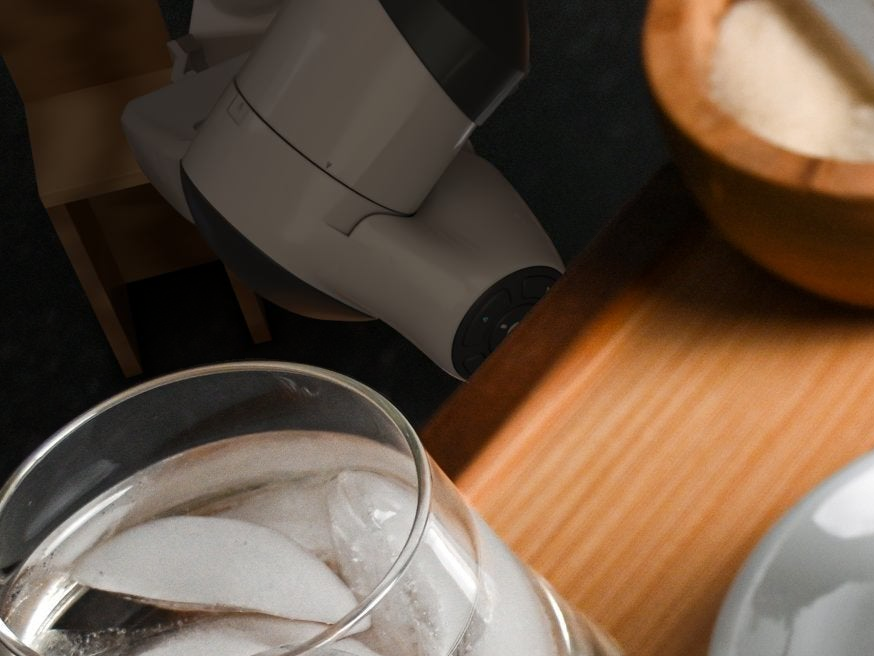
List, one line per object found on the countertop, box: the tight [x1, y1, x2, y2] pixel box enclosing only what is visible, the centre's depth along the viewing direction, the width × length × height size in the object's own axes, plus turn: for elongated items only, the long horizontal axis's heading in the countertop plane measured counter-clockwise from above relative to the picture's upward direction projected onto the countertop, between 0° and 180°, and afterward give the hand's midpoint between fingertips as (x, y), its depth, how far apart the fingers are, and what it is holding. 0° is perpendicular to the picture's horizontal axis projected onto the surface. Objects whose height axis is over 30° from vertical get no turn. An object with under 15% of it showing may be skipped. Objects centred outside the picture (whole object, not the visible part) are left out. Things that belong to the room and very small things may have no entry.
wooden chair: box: [0, 0, 273, 378], centre depth 121 cm, size 10×10×30 cm
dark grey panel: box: [188, 0, 285, 68], centre depth 107 cm, size 7×7×12 cm
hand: (259, 17), depth 106 cm, fingers closed on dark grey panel, 8 cm apart
